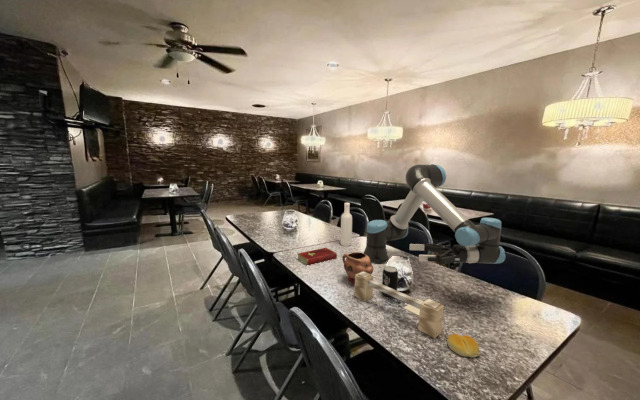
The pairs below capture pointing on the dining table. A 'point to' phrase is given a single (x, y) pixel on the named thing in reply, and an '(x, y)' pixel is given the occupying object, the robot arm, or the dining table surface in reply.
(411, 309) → the pad
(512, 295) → the dining table surface
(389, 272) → the beverage can
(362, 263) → the brown sculpted mug
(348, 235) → the bottle
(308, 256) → the hardcover book
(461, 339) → the bread roll
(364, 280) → the handrail
